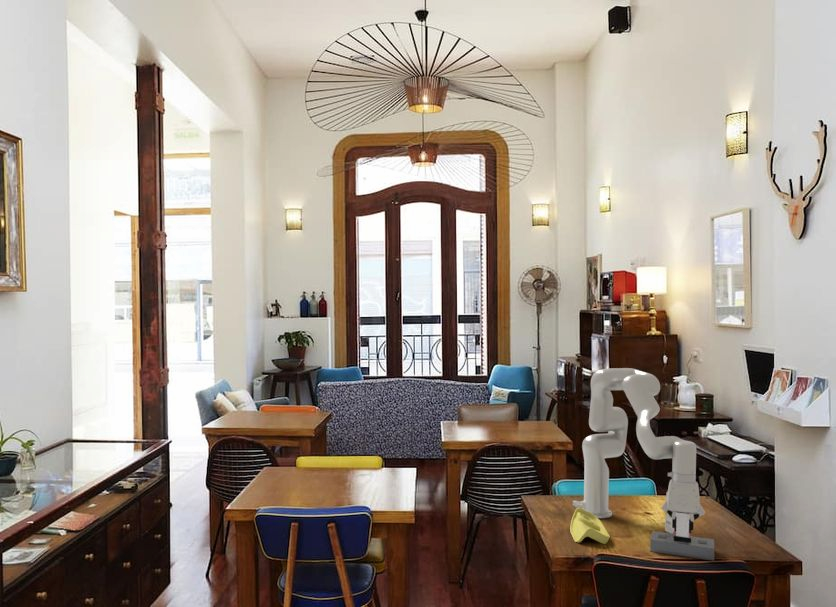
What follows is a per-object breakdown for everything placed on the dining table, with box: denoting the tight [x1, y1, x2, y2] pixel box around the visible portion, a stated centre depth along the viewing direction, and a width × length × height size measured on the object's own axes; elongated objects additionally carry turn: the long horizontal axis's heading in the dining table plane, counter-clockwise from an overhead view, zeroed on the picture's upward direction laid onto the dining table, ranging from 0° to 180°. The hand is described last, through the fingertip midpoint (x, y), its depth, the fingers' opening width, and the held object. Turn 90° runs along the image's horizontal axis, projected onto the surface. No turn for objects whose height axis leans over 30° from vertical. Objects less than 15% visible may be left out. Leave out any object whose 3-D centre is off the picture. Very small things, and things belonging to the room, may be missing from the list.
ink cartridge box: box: [664, 491, 692, 536], centre depth 258 cm, size 9×5×15 cm, turn 23°
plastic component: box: [569, 507, 611, 545], centre depth 255 cm, size 20×7×10 cm
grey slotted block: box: [649, 530, 715, 562], centre depth 240 cm, size 20×10×4 cm, turn 68°
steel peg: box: [676, 512, 689, 538], centre depth 240 cm, size 4×4×8 cm
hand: (682, 530), depth 240 cm, fingers closed on steel peg, 4 cm apart
